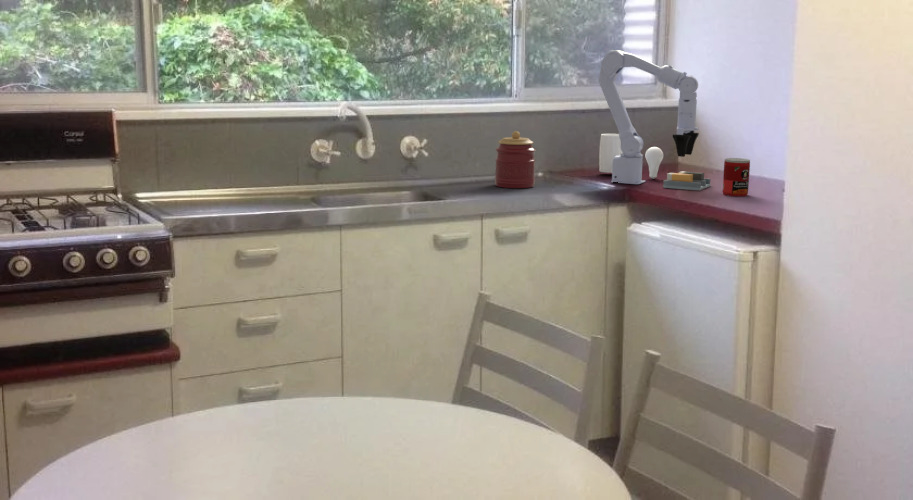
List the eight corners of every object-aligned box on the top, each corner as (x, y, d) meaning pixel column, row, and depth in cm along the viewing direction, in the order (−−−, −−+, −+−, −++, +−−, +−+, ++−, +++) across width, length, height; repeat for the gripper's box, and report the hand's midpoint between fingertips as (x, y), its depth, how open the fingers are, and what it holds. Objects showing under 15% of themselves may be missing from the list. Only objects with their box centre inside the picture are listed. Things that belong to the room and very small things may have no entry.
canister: (513, 182, 358) (514, 128, 355) (543, 186, 349) (544, 131, 346) (486, 185, 349) (487, 130, 346) (515, 189, 340) (517, 133, 337)
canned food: (734, 197, 331) (736, 161, 329) (716, 193, 338) (718, 158, 336) (753, 195, 335) (755, 160, 333) (735, 192, 342) (738, 157, 340)
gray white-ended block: (703, 183, 355) (704, 172, 354) (700, 184, 352) (701, 173, 352) (681, 182, 359) (681, 171, 358) (678, 183, 356) (678, 172, 355)
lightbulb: (664, 178, 374) (666, 146, 372) (658, 180, 369) (659, 148, 367) (648, 177, 377) (649, 145, 375) (641, 178, 372) (642, 146, 370)
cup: (624, 176, 378) (625, 135, 375) (599, 176, 378) (601, 135, 375) (620, 173, 386) (622, 133, 383) (597, 173, 386) (598, 133, 383)
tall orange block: (692, 185, 351) (693, 174, 350) (689, 186, 348) (690, 175, 347) (669, 183, 354) (670, 172, 354) (666, 184, 351) (667, 173, 351)
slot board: (663, 187, 350) (663, 180, 350) (674, 183, 361) (674, 176, 361) (699, 190, 345) (700, 183, 344) (710, 186, 356) (710, 178, 355)
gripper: (692, 115, 344) (690, 158, 346) (705, 112, 356) (702, 154, 359) (671, 114, 347) (669, 156, 349) (684, 112, 359) (681, 153, 362)
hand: (684, 155), depth 354 cm, fingers open, 7 cm apart
